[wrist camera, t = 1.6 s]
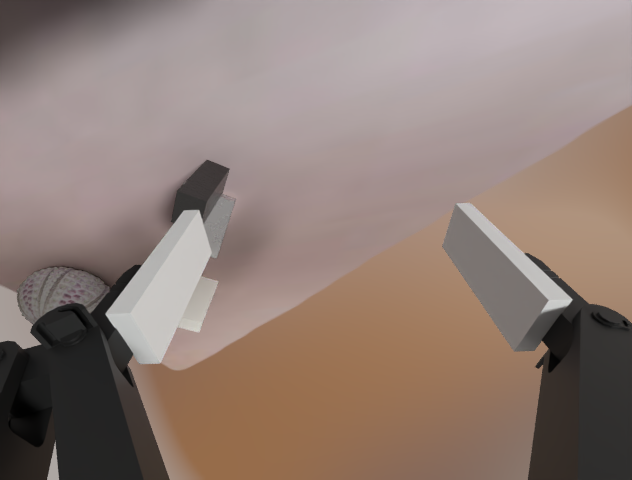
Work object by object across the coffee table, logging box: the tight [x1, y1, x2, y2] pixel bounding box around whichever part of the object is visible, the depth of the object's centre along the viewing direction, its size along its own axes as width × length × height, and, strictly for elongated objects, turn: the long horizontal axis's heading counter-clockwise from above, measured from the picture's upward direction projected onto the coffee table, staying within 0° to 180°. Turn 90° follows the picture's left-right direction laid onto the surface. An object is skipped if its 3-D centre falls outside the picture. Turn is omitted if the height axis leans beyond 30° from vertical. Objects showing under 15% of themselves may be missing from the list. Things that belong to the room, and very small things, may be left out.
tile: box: [178, 276, 219, 332], centre depth 44 cm, size 10×3×9 cm, turn 65°
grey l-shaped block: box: [171, 160, 236, 258], centre depth 36 cm, size 7×15×10 cm, turn 155°
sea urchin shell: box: [17, 267, 110, 325], centre depth 45 cm, size 13×14×8 cm
